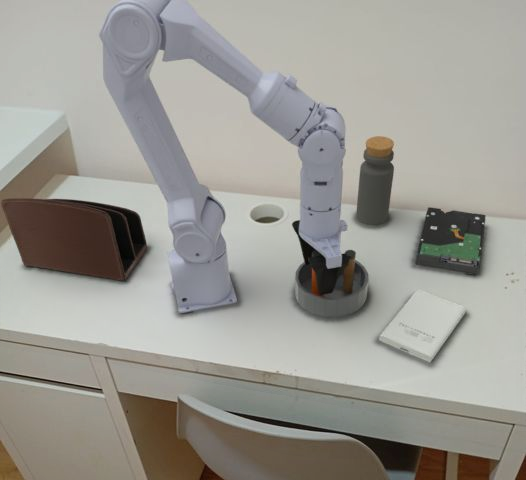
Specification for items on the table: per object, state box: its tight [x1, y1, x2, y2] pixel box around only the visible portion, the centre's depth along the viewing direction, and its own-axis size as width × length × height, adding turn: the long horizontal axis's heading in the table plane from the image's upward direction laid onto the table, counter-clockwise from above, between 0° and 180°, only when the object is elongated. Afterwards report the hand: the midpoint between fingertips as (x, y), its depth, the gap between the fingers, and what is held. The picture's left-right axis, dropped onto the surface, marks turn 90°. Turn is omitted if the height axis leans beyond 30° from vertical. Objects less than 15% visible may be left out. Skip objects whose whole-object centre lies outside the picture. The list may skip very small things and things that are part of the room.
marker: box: [312, 250, 324, 297], centre depth 90 cm, size 2×2×8 cm
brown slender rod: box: [342, 249, 357, 293], centre depth 91 cm, size 2×2×8 cm
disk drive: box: [415, 206, 486, 275], centre depth 100 cm, size 10×3×15 cm
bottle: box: [355, 135, 395, 227], centre depth 103 cm, size 6×6×15 cm
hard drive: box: [378, 289, 467, 363], centre depth 87 cm, size 2×8×12 cm
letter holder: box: [0, 197, 148, 282], centre depth 99 cm, size 10×20×14 cm, turn 74°
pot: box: [294, 259, 370, 319], centre depth 92 cm, size 11×11×4 cm
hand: (318, 277), depth 90 cm, fingers open, 7 cm apart
